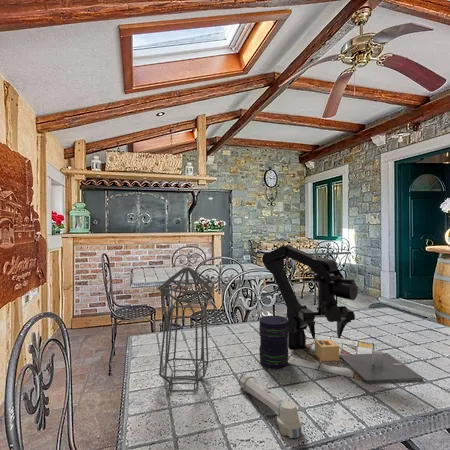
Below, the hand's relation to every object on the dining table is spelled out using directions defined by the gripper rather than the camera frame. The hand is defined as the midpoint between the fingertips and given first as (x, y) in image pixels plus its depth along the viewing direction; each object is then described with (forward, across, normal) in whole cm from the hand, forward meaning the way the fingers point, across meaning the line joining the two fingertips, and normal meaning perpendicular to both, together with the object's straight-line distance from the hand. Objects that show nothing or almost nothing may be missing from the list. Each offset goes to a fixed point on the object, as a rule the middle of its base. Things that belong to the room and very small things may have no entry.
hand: (326, 338), depth 111 cm
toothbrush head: (+7, -28, -29) cm, 41 cm away
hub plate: (+6, +13, -10) cm, 18 cm away
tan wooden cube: (+7, 0, 0) cm, 7 cm away
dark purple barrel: (+7, -20, -3) cm, 21 cm away
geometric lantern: (+7, -49, -14) cm, 51 cm away
